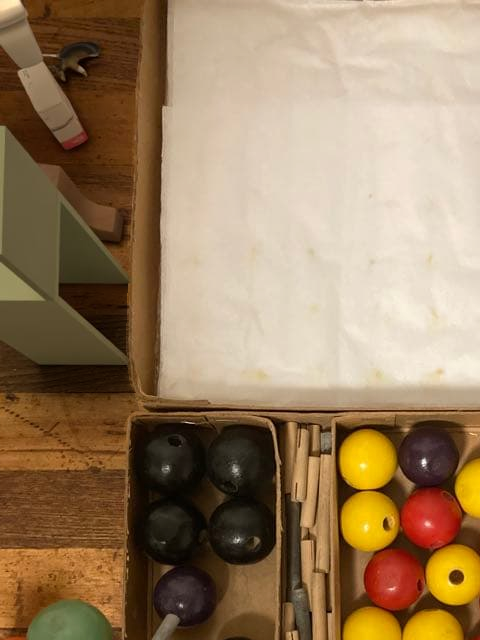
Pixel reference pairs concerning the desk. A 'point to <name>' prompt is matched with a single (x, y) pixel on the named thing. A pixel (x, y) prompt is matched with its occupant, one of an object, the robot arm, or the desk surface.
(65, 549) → the desk surface
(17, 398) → the desk surface
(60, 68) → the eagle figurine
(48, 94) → the ink box
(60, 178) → the wooden block
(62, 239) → the shelf
